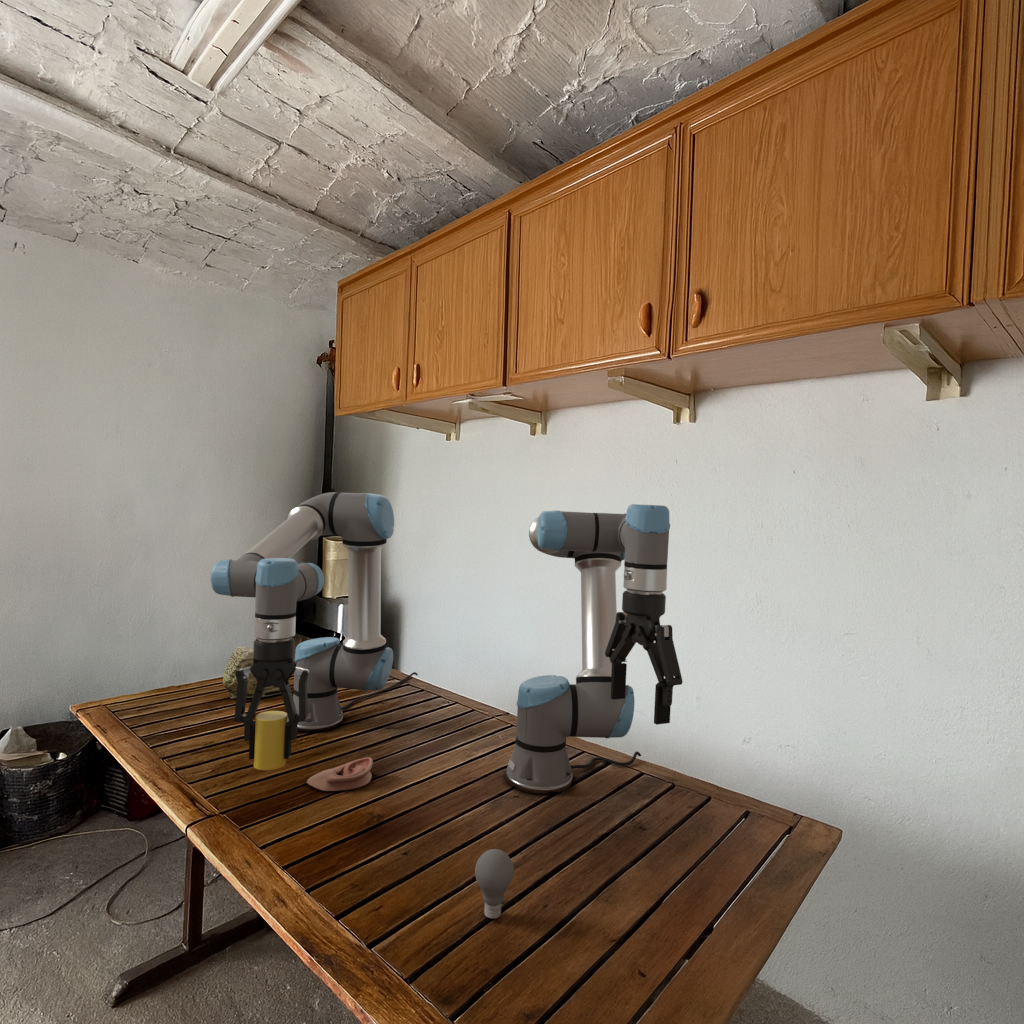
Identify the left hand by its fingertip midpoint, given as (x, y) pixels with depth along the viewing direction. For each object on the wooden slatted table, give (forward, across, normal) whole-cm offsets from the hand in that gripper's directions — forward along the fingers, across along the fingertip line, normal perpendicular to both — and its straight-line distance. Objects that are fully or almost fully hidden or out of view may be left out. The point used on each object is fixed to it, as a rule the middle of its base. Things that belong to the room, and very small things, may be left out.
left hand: (270, 756), depth 123 cm
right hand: (-16, +67, -20) cm, 72 cm away
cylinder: (+2, 0, 0) cm, 2 cm away
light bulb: (+13, +41, -32) cm, 53 cm away
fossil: (+12, -22, +78) cm, 82 cm away
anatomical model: (+12, +12, +16) cm, 24 cm away
